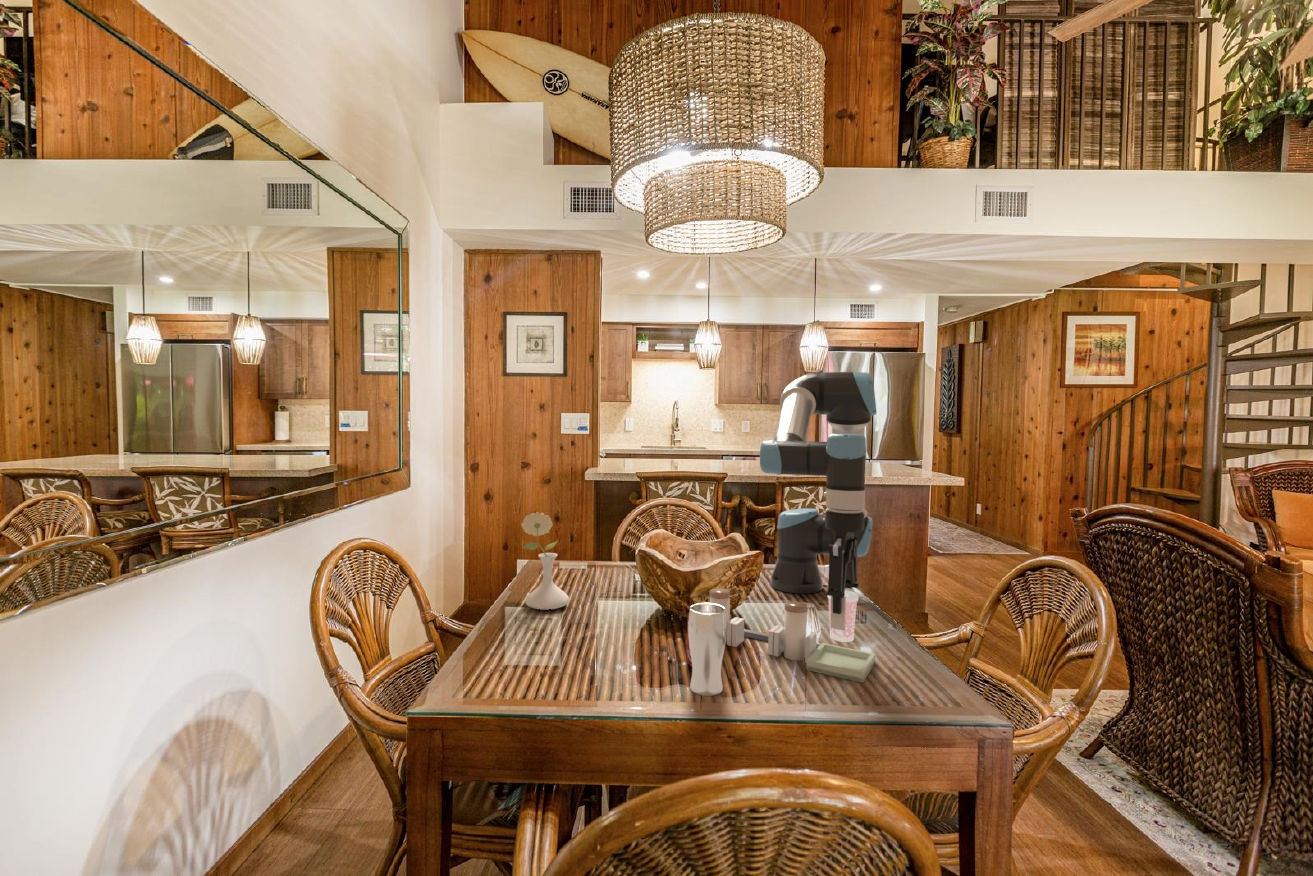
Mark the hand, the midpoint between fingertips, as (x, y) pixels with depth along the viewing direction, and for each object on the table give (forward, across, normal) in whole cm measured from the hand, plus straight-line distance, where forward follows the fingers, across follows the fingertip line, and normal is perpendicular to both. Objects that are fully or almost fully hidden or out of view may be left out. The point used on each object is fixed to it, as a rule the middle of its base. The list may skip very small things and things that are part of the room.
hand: (842, 623), depth 121 cm
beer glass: (+9, +24, -18) cm, 32 cm away
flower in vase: (+9, +4, -76) cm, 77 cm away
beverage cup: (+3, 0, 0) cm, 3 cm away
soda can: (+9, +15, -24) cm, 29 cm away
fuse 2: (+9, 0, -10) cm, 13 cm away
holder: (+9, -2, -19) cm, 21 cm away
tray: (+9, 0, 0) cm, 9 cm away
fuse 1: (+9, 0, -27) cm, 29 cm away
